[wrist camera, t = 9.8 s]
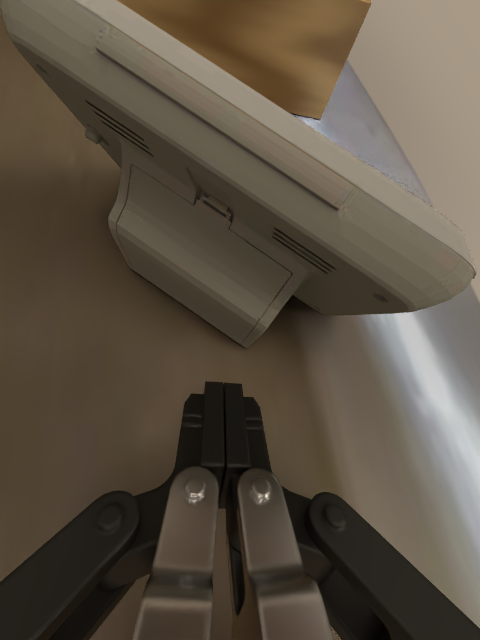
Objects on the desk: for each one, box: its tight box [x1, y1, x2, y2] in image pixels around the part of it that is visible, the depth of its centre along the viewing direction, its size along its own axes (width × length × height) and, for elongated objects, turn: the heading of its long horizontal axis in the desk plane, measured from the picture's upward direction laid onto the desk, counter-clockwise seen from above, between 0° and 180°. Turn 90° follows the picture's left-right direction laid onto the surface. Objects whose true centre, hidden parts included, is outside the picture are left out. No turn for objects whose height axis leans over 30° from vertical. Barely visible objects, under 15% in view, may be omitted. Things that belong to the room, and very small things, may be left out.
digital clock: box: [0, 0, 476, 348], centre depth 12 cm, size 16×9×11 cm, turn 45°
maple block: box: [117, 0, 371, 119], centre depth 19 cm, size 16×5×7 cm, turn 87°
